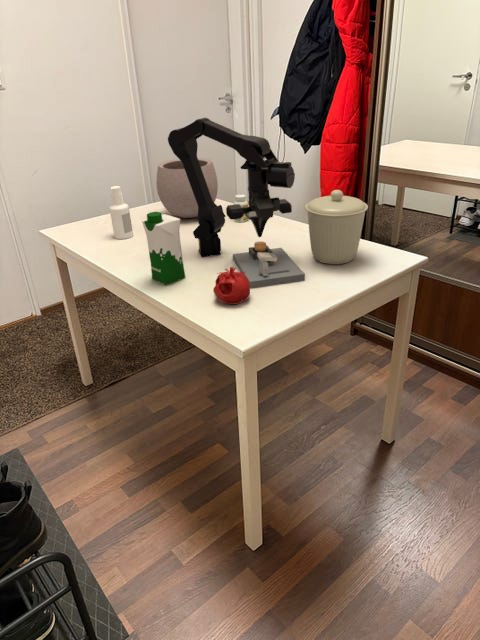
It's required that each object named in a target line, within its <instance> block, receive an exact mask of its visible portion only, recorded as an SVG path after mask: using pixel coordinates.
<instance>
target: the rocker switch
mask: <svg viewBox="0 0 480 640" xmlns="http://www.w3.org/2000/svg"><path fill="white" fill-rule="evenodd" d="M257 257H258V258H259V259H265V260H266V261H277V256H276V255H275V254H274V253H263V252H258V254H257Z"/></svg>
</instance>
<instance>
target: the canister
mask: <svg viewBox="0 0 480 640" xmlns="http://www.w3.org/2000/svg"><path fill="white" fill-rule="evenodd" d="M304 209H305V211H307V220H308V222H307V223H308V231H309V232H308V233H309V243H310V250H311V254H312V256H313V258H315V260H317V261H318V262H320V263H323V264H328V265H340V264H346V263H349V262H351V261H352V260H353V259H354V258H355V257H356V255H357V253H358V250H359V246H360V241H361V235H362V230H363V226H364V219H365V215H366V211H367V210H368V209H369V206H368V204H367V203H366V202H364V201H363V200H361V199H360V198H357V197H354V196H349V195H344V193H343V191H342V190H340V189H334V190H332V191H331V192H330V195H325V196H320V197H317V198H314V199H312V200H311V201H309V202H307V203H306V204H305V206H304Z"/></svg>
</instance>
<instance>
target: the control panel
mask: <svg viewBox="0 0 480 640" xmlns="http://www.w3.org/2000/svg"><path fill="white" fill-rule="evenodd" d="M263 253H274V254H275V255H276V256H277V261H267V263H268V276H263V275H262V274H261V272H260V271H259V258H258V257H257V254H258V252H257V251H255V249H254V246H251V247H248V251H246V252H237V253H233V254H232V261H233V263H234V264H235V266H236V267H237V269H238V272H246V273H243V274H245V276H246V277H247V278H248V280H249V285H250V289H255V288H256V289H257V288H261V287H268V286H275V285H276V286H277V285H283V284H290V283H296V282H302V281H305V280H306V273H305V272H304V271H303V270H302V269H301V268H300V267H299V265H298V264H297V263H296V262H295V261H294V260H293V259H292V257H291V256H289V255H288V253H287V252H286V251H285V250H284V249H283V247H277V248H270V247H269V246H268V245H267V244H266V251H263Z"/></svg>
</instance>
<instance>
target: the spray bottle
mask: <svg viewBox="0 0 480 640" xmlns="http://www.w3.org/2000/svg"><path fill="white" fill-rule="evenodd" d="M110 191H111V195H110V196H111V202H112V204H111V205H110V206H109V214H110V218H111V219H110V220H111V226H112V229H113V235H114V238H115V239H117V240H126V239H130V238H131V237H133V236H134V231H133V224H132V219H131V213H130V207H129V204H127V203H125V201H124V195H123V191H122V187H121V186H120V185H114V186H111V187H110Z"/></svg>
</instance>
